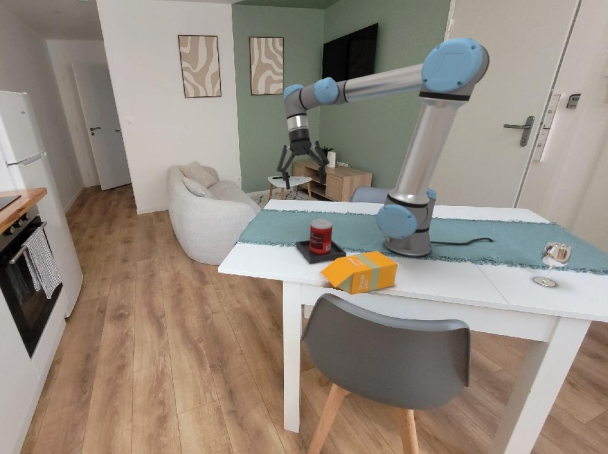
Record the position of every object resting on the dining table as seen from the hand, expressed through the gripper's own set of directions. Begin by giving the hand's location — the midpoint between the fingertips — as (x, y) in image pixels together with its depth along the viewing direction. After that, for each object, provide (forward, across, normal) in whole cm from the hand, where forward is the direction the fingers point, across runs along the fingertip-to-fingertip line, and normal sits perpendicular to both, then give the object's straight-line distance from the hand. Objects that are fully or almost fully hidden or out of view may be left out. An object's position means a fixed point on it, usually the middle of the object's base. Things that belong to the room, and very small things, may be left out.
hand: (305, 186), depth 111 cm
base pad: (+25, 0, +6) cm, 25 cm away
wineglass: (+38, -56, +36) cm, 77 cm away
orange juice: (+28, -13, +26) cm, 41 cm away
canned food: (+24, 0, +6) cm, 25 cm away
